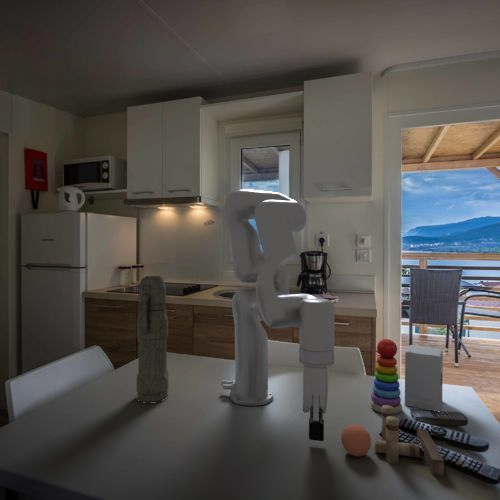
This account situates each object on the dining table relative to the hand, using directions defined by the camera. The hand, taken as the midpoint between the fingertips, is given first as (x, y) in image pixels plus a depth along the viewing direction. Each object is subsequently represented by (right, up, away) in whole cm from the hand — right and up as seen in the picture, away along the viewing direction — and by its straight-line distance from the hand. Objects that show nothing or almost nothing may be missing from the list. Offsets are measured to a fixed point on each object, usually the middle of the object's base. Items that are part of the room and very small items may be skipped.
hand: (316, 438), depth 80 cm
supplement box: (+34, -2, +22) cm, 40 cm away
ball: (+8, +1, -3) cm, 9 cm away
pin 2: (+15, -2, -6) cm, 16 cm away
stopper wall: (+23, -2, -5) cm, 23 cm away
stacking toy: (+22, -2, +18) cm, 28 cm away
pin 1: (+16, -2, 0) cm, 16 cm away
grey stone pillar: (-43, -2, +25) cm, 50 cm away
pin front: (+12, 0, -2) cm, 12 cm away
